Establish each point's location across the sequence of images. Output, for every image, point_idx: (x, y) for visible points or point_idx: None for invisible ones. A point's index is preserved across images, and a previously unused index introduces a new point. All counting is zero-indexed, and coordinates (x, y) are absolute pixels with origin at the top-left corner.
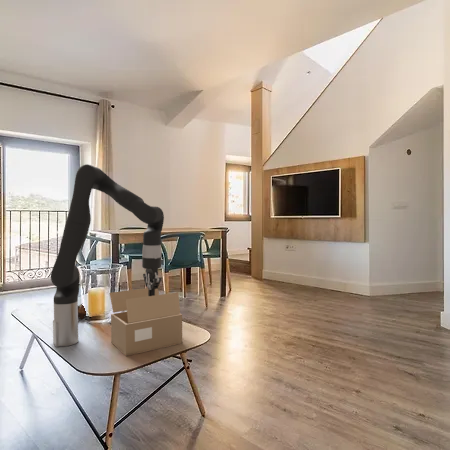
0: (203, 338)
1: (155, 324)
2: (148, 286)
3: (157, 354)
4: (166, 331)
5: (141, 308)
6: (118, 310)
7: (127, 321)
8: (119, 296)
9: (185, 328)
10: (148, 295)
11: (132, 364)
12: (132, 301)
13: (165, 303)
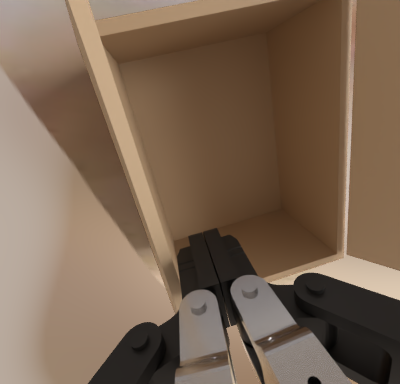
0: None
1: None
2: (244, 309)
3: (97, 165)
4: None
5: (116, 146)
6: (363, 22)
7: (307, 86)
8: None
9: None
10: (218, 239)
11: (21, 69)
12: (86, 57)
13: (171, 300)
